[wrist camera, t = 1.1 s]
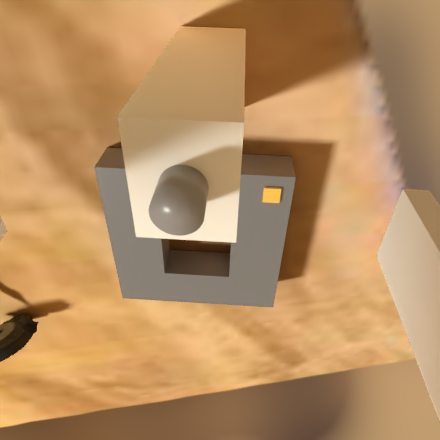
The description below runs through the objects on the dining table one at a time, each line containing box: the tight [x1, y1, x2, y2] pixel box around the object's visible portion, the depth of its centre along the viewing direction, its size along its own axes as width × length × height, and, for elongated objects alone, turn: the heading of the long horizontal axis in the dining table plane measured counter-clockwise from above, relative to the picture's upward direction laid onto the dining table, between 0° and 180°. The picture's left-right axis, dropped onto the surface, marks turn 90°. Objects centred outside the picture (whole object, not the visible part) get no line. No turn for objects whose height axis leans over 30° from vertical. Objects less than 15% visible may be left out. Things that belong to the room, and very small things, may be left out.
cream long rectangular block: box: [117, 26, 246, 243], centre depth 18 cm, size 4×5×16 cm
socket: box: [95, 147, 296, 307], centre depth 31 cm, size 14×14×3 cm
